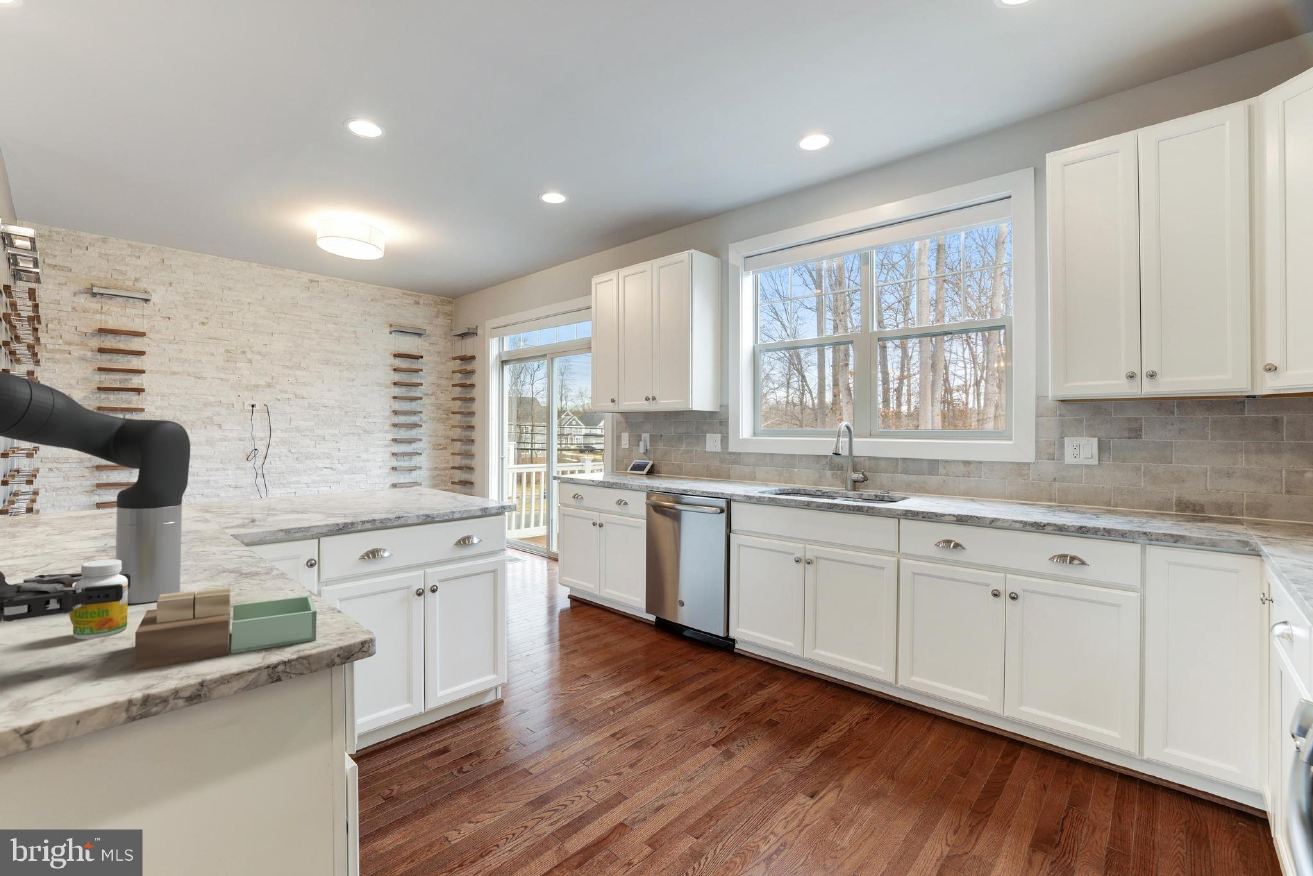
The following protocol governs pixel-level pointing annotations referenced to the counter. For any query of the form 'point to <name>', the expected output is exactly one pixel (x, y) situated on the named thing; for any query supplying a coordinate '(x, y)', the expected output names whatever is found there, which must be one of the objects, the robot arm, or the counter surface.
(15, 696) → the counter surface
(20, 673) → the counter surface
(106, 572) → the supplement bottle
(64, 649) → the counter surface
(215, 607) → the maple block
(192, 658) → the walnut block
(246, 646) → the tray
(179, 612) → the maple block
